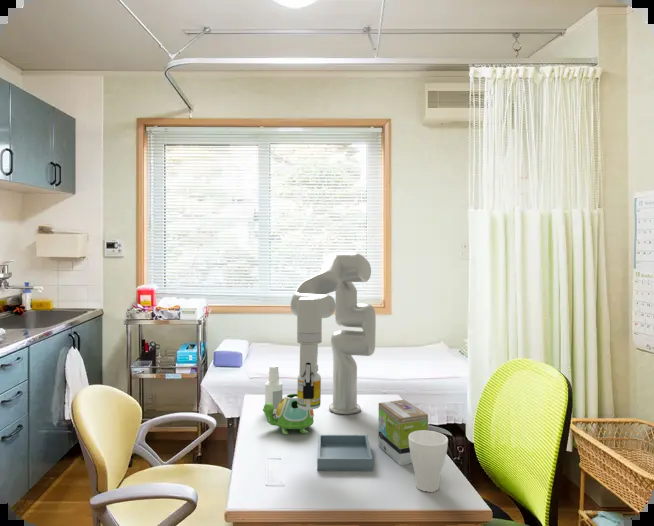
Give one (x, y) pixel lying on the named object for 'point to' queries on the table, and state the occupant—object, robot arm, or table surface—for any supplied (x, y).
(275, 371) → the spray bottle
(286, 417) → the turtle holder
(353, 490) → the table surface
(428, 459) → the cup
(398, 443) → the tea box
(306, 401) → the supplement bottle
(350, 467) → the tray
